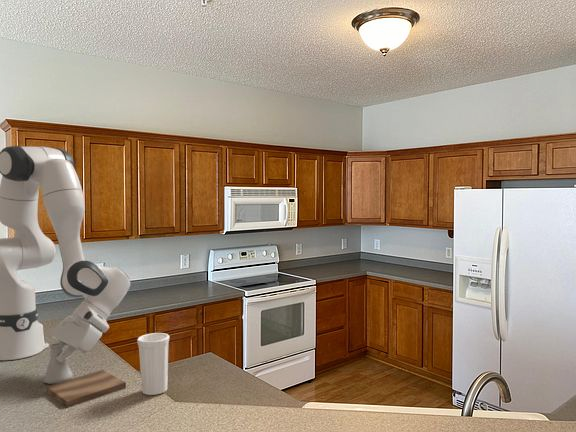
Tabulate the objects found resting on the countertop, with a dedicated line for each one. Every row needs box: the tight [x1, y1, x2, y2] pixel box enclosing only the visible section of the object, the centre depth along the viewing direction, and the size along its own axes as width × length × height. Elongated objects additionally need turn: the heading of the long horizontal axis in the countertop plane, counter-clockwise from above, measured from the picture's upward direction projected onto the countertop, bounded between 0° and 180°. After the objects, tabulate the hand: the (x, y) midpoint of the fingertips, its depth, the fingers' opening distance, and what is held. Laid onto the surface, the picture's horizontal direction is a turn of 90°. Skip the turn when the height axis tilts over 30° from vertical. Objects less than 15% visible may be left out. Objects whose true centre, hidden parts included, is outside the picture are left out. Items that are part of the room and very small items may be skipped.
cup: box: [136, 332, 170, 396], centre depth 116 cm, size 8×8×14 cm
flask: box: [42, 342, 74, 385], centre depth 124 cm, size 7×7×10 cm
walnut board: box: [46, 369, 127, 408], centre depth 118 cm, size 14×15×2 cm
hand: (54, 359), depth 124 cm, fingers closed on flask, 3 cm apart
